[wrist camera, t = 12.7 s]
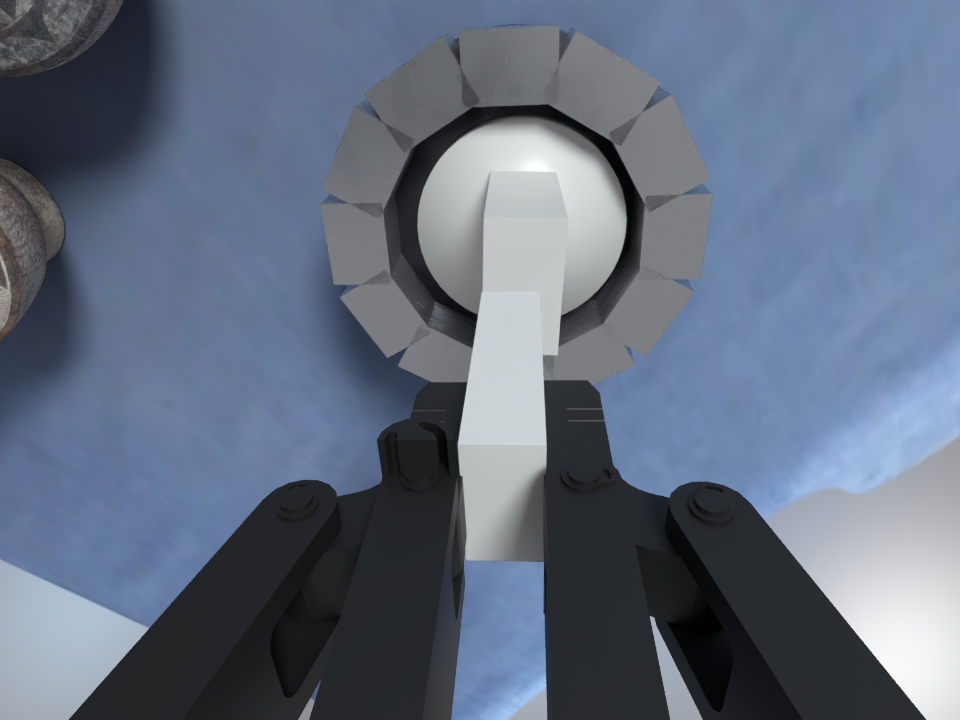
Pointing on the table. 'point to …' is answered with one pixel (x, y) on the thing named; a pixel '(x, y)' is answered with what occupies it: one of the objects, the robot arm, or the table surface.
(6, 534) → the table surface
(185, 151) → the table surface
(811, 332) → the table surface
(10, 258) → the pottery
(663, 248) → the toothed ring drum
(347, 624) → the robot arm
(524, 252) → the cap
